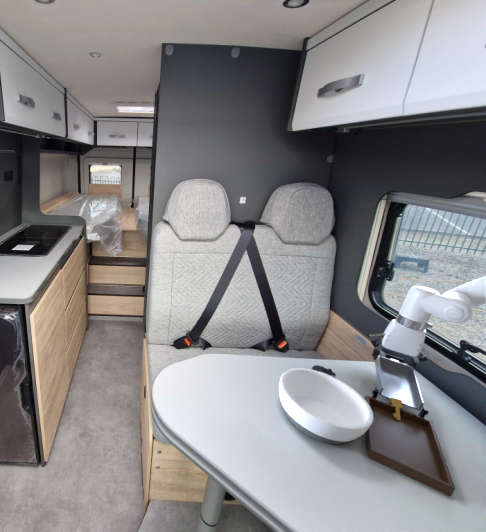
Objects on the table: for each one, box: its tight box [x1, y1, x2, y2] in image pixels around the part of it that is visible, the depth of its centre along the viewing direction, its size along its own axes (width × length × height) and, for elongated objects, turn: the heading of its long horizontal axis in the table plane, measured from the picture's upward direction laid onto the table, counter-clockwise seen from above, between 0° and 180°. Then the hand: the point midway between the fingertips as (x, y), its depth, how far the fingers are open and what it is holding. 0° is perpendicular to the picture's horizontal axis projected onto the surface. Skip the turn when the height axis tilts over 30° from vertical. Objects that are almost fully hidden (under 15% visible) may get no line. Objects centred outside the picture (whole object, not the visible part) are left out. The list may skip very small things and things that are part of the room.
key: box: [390, 398, 404, 421], centre depth 90 cm, size 6×2×1 cm
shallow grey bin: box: [374, 353, 425, 412], centre depth 100 cm, size 23×10×3 cm, turn 146°
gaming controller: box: [311, 364, 337, 378], centre depth 103 cm, size 10×5×6 cm
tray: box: [364, 394, 456, 497], centre depth 82 cm, size 24×16×3 cm, turn 146°
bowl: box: [278, 367, 374, 445], centre depth 86 cm, size 22×22×8 cm
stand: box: [370, 387, 430, 418], centre depth 92 cm, size 2×13×5 cm, turn 56°
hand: (391, 364), depth 109 cm, fingers open, 9 cm apart
